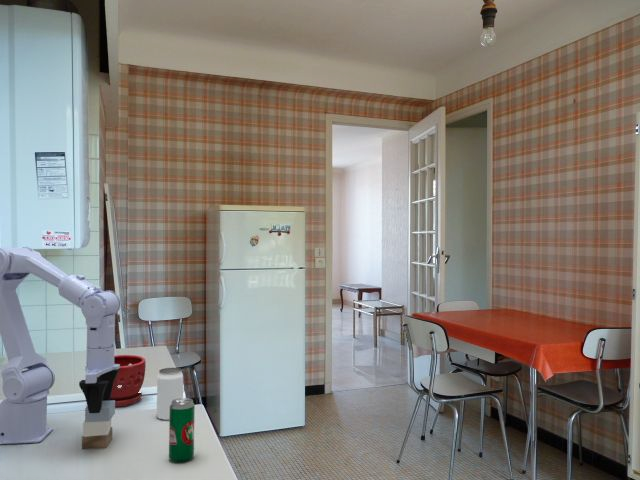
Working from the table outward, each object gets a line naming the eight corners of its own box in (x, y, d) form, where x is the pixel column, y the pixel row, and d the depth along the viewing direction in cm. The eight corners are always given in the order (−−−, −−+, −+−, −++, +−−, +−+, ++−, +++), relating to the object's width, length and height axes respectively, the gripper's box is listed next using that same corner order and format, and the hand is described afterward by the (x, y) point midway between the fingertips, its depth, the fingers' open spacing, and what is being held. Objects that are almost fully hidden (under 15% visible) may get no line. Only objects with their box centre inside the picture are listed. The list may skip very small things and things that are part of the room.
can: (175, 421, 124) (175, 374, 124) (151, 419, 125) (152, 372, 125) (187, 413, 130) (187, 367, 130) (164, 411, 131) (165, 366, 131)
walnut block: (81, 450, 107) (82, 436, 107) (89, 440, 111) (89, 427, 112) (106, 448, 107) (106, 435, 107) (112, 439, 112) (112, 426, 112)
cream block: (82, 436, 106) (83, 423, 106) (87, 428, 111) (87, 415, 111) (107, 434, 108) (108, 421, 108) (111, 426, 112) (111, 413, 112)
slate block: (85, 422, 107) (85, 408, 107) (91, 414, 112) (91, 401, 112) (109, 421, 108) (109, 407, 108) (114, 413, 112) (115, 400, 112)
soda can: (167, 455, 104) (168, 398, 104) (191, 451, 106) (192, 396, 106) (170, 465, 99) (171, 406, 99) (195, 461, 101) (196, 403, 101)
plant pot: (84, 405, 135) (84, 362, 135) (120, 392, 147) (121, 352, 147) (120, 412, 130) (121, 367, 130) (154, 398, 142) (155, 357, 142)
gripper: (111, 352, 103) (110, 417, 103) (127, 339, 118) (126, 396, 117) (75, 353, 102) (74, 418, 102) (95, 340, 116) (94, 397, 116)
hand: (99, 406), depth 110 cm, fingers open, 7 cm apart
